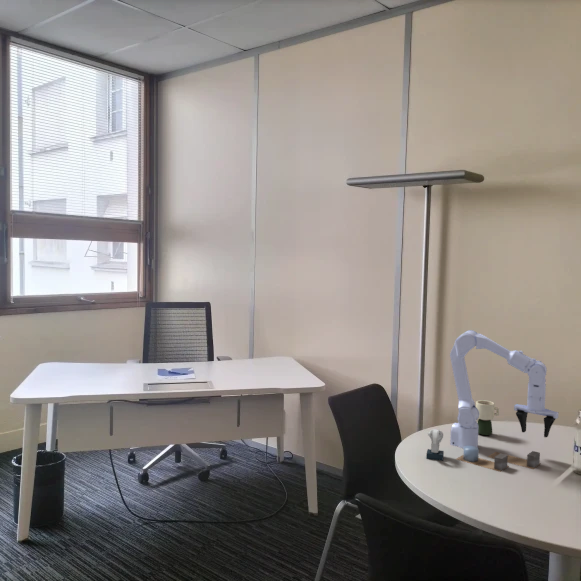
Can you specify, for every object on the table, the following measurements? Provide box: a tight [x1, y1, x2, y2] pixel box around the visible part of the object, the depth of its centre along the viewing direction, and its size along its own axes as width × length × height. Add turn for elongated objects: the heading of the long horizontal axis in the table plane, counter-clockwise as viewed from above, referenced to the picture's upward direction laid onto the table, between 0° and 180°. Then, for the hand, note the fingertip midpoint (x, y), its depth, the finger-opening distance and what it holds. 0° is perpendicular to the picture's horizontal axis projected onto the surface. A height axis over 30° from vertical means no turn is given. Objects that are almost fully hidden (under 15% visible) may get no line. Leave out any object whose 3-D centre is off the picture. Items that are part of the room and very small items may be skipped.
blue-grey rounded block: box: [462, 446, 480, 462], centre depth 194 cm, size 5×5×4 cm
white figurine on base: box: [425, 428, 445, 462], centre depth 195 cm, size 6×8×11 cm
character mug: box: [475, 399, 500, 436], centre depth 224 cm, size 11×7×13 cm, turn 79°
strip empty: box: [487, 450, 542, 470], centre depth 193 cm, size 16×7×5 cm, turn 47°
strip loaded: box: [455, 452, 510, 473], centre depth 191 cm, size 16×7×5 cm, turn 47°
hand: (534, 434), depth 196 cm, fingers open, 7 cm apart
